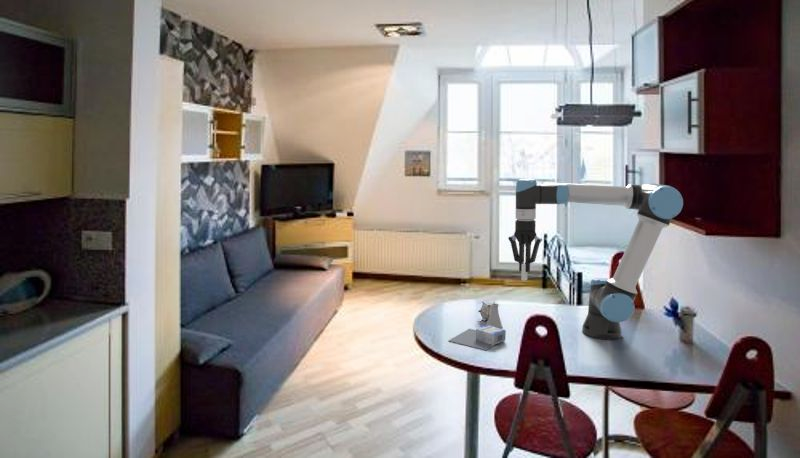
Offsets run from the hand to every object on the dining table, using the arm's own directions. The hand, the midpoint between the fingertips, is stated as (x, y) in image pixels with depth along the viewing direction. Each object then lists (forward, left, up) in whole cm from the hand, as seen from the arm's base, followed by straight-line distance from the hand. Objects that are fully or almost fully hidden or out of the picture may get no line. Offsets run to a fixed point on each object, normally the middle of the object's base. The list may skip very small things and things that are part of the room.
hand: (524, 279), depth 211 cm
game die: (+21, -15, -24) cm, 35 cm away
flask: (+15, -8, -24) cm, 30 cm away
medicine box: (+4, +10, -22) cm, 24 cm away
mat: (+14, +10, -24) cm, 30 cm away
